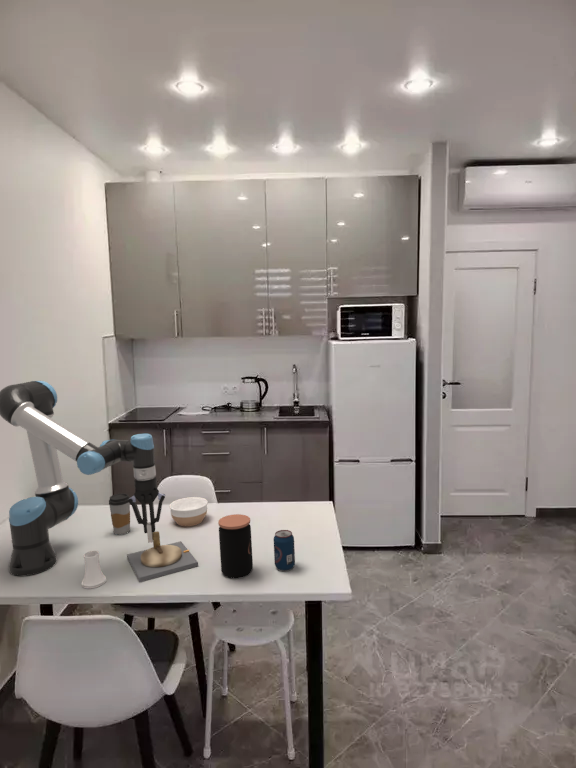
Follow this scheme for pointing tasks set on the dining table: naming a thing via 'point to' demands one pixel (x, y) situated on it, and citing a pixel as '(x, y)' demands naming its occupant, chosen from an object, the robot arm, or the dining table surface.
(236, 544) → the coffee jar
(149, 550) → the dial
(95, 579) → the vase
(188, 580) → the dining table surface
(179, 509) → the bowl
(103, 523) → the dining table surface
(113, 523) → the coffee cup
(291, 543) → the soda can
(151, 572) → the dial base
